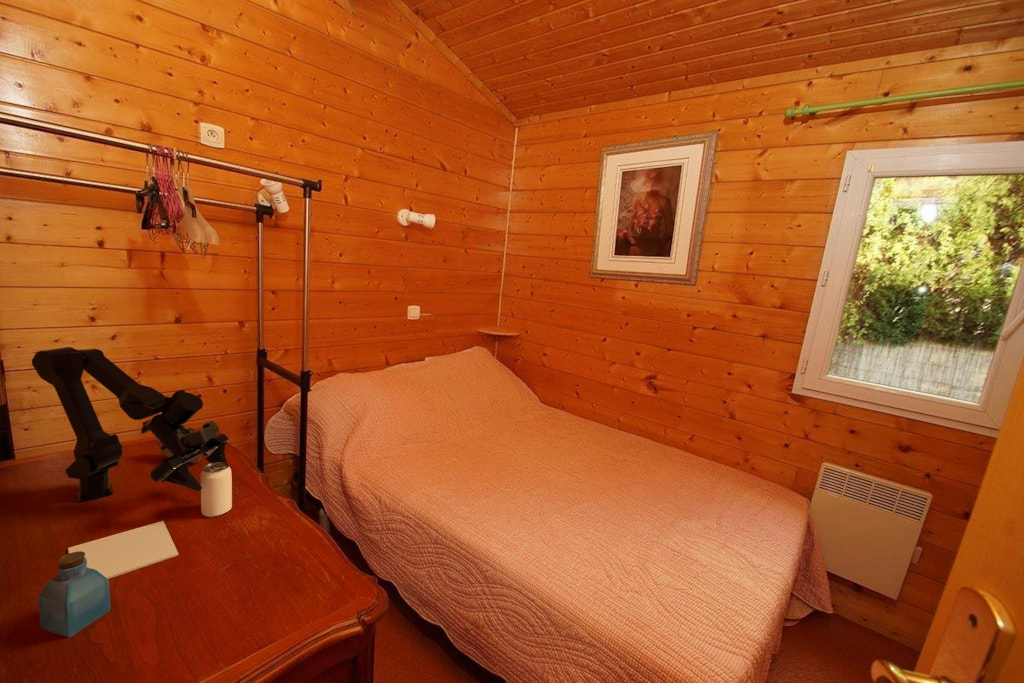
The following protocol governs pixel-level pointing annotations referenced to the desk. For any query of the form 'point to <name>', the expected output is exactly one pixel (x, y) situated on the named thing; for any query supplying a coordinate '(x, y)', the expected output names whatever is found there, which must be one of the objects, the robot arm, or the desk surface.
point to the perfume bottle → (73, 597)
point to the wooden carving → (172, 455)
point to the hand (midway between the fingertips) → (215, 480)
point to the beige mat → (128, 550)
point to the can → (216, 489)
